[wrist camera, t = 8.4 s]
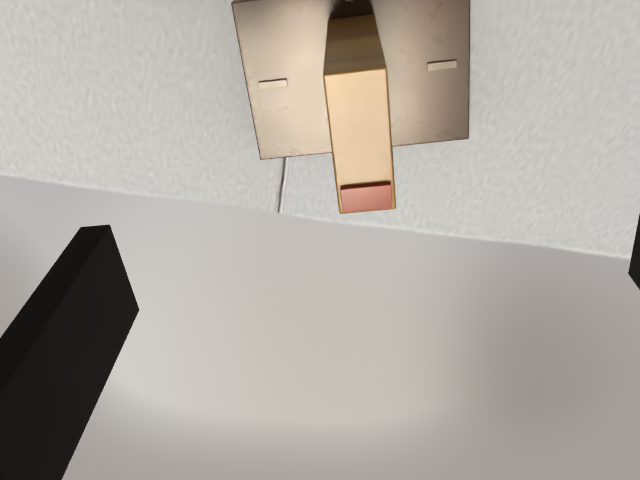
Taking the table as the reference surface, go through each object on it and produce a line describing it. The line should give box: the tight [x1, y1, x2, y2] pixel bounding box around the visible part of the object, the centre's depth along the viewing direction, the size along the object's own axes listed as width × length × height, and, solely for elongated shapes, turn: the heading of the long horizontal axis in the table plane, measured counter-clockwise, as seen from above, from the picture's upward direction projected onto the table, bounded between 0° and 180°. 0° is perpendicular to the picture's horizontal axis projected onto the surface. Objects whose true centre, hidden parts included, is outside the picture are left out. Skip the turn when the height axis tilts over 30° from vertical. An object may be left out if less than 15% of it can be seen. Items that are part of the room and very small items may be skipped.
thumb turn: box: [323, 14, 396, 214], centre depth 25 cm, size 6×2×9 cm, turn 7°
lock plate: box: [231, 0, 470, 160], centre depth 30 cm, size 11×10×2 cm
